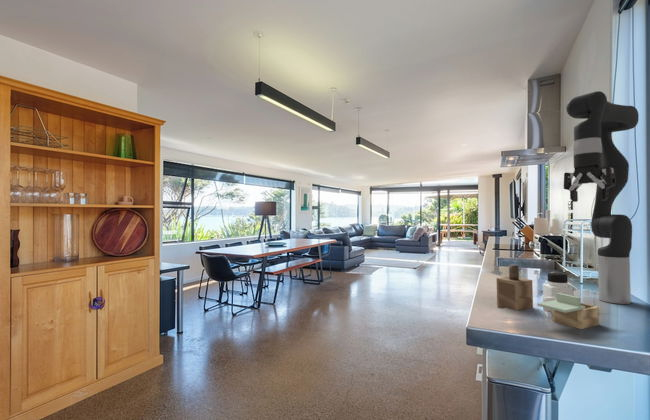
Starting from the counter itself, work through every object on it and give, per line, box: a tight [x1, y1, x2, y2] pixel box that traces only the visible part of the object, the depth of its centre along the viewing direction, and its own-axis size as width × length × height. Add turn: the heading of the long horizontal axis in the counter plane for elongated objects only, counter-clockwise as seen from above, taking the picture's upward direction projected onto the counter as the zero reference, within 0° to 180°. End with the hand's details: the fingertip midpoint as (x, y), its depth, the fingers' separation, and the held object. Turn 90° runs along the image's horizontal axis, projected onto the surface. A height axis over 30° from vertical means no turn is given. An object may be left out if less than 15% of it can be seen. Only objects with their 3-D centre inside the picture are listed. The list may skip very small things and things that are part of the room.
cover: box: [496, 264, 534, 311], centre depth 117 cm, size 8×8×16 cm
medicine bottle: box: [542, 271, 574, 297], centre depth 121 cm, size 7×7×12 cm
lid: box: [536, 293, 585, 313], centre depth 96 cm, size 9×8×3 cm
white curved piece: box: [541, 295, 557, 313], centre depth 112 cm, size 4×4×5 cm
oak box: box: [551, 302, 600, 330], centre depth 99 cm, size 9×8×6 cm
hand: (588, 201), depth 109 cm, fingers open, 8 cm apart
